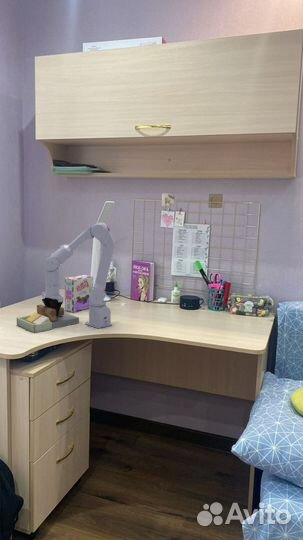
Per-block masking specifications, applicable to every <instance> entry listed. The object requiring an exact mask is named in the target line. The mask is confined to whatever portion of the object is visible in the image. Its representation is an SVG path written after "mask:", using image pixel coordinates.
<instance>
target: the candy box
mask: <svg viewBox="0 0 303 540" xmlns="http://www.w3.org/2000/svg"><path fill="white" fill-rule="evenodd" d="M93 276H94V275H88V274H82V275H76V276H71V277H65V278H64V312H65V311H66V312H69V313H72V314H74V313H77V312H81V311H85V310H89V303H90V301H89V295H90V294H91V292H92V291H93V287H94V277H93Z"/></svg>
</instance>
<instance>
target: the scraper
mask: <svg viewBox="0 0 303 540" xmlns="http://www.w3.org/2000/svg"><path fill="white" fill-rule="evenodd" d="M64 312H65V307H63V306H61V307H60V310H59V315H58V316H62V315H64ZM36 313H38V314H40V315H43V316H45V317H48V318H49V320H51V321H54V320H56V310H55V309H52V308H49V307H46V306H45V305H44V304H37V305H36Z"/></svg>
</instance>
